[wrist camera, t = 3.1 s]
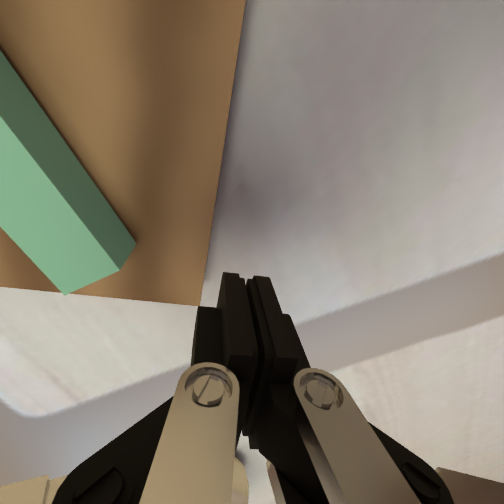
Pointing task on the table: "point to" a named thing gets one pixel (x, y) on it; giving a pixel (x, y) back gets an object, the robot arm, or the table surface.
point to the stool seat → (133, 125)
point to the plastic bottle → (239, 484)
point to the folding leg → (52, 196)
